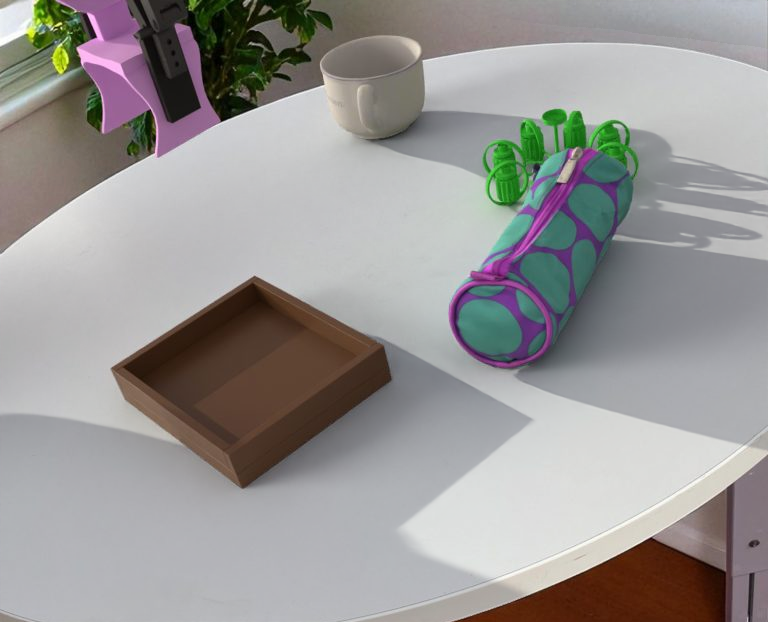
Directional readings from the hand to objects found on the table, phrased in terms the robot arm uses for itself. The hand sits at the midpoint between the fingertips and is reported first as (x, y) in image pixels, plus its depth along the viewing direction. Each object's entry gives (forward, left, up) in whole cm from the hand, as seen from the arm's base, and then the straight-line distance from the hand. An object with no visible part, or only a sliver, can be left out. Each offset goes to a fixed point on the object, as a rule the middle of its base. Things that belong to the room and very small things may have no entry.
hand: (153, 100), depth 84 cm
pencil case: (+18, +23, -21) cm, 36 cm away
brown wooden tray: (+12, -2, -20) cm, 24 cm away
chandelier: (+3, +34, -21) cm, 40 cm away
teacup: (-20, +26, -21) cm, 38 cm away
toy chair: (0, 0, -3) cm, 3 cm away
